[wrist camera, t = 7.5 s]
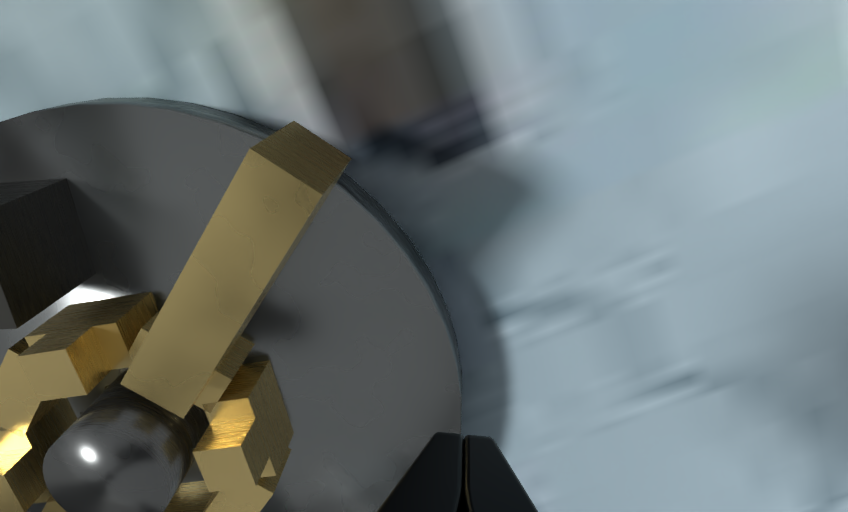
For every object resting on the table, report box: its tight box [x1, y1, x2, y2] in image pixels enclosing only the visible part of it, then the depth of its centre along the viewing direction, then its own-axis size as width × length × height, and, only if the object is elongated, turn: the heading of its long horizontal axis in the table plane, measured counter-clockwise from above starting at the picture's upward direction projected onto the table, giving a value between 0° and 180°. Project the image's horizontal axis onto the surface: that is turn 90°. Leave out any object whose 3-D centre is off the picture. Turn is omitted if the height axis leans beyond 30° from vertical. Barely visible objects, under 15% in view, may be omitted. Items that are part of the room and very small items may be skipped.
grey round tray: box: [0, 98, 462, 512], centre depth 19 cm, size 20×20×5 cm
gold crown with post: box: [0, 121, 351, 512], centre depth 17 cm, size 15×9×4 cm, turn 146°
